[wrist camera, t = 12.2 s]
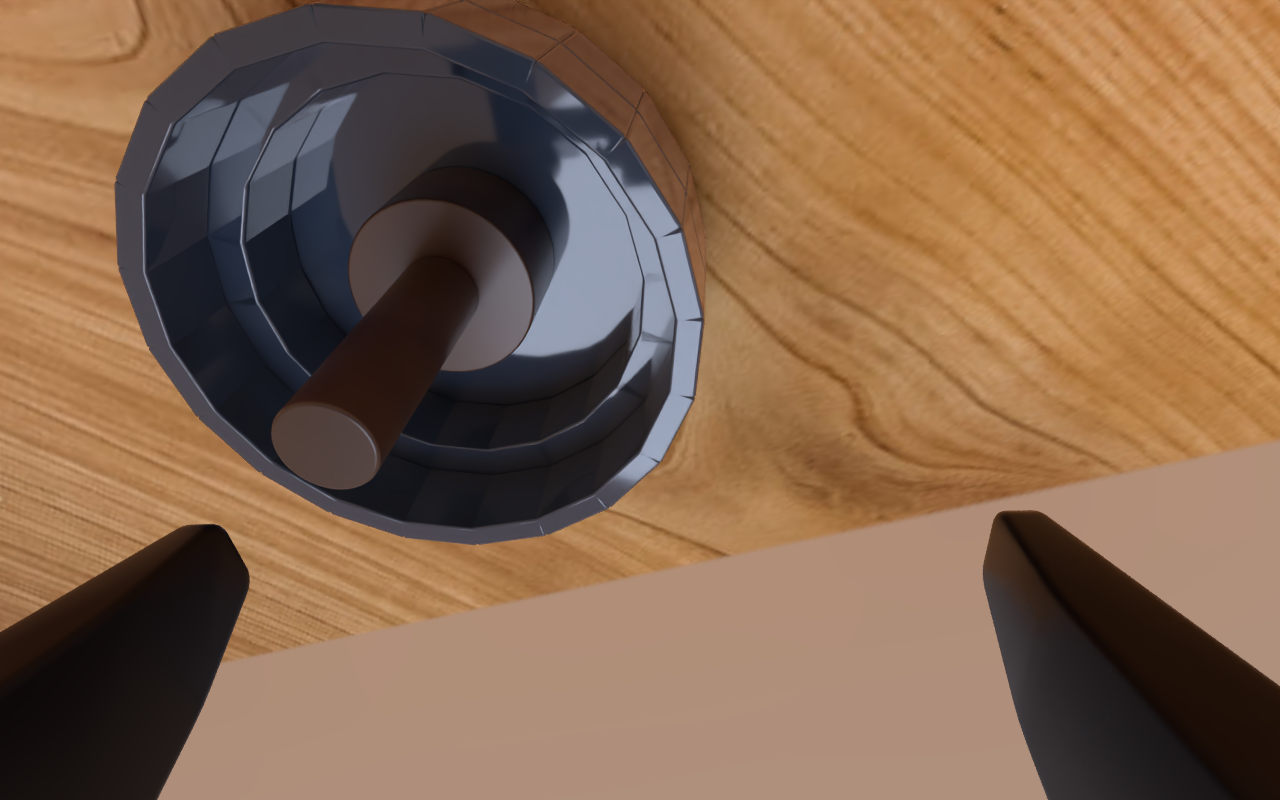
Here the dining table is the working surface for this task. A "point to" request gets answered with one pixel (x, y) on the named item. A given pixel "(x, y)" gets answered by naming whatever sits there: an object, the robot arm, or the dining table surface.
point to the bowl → (360, 185)
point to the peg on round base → (418, 317)
